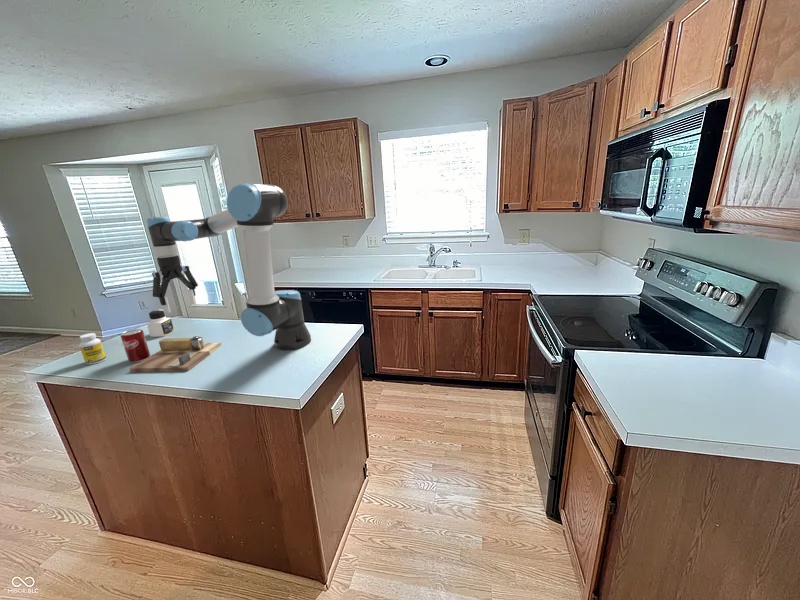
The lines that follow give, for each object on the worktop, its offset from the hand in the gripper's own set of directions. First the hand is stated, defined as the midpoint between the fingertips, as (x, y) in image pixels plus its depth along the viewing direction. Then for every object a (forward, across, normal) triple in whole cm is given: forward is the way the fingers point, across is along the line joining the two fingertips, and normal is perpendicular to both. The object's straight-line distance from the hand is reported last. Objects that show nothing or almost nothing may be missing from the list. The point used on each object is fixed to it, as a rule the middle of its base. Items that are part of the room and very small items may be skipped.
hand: (181, 307), depth 141 cm
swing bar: (+16, +5, +3) cm, 17 cm away
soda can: (+18, +15, -10) cm, 26 cm away
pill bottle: (+18, +22, -26) cm, 39 cm away
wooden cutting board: (+18, +10, +6) cm, 21 cm away
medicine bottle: (+18, -6, -29) cm, 35 cm away
